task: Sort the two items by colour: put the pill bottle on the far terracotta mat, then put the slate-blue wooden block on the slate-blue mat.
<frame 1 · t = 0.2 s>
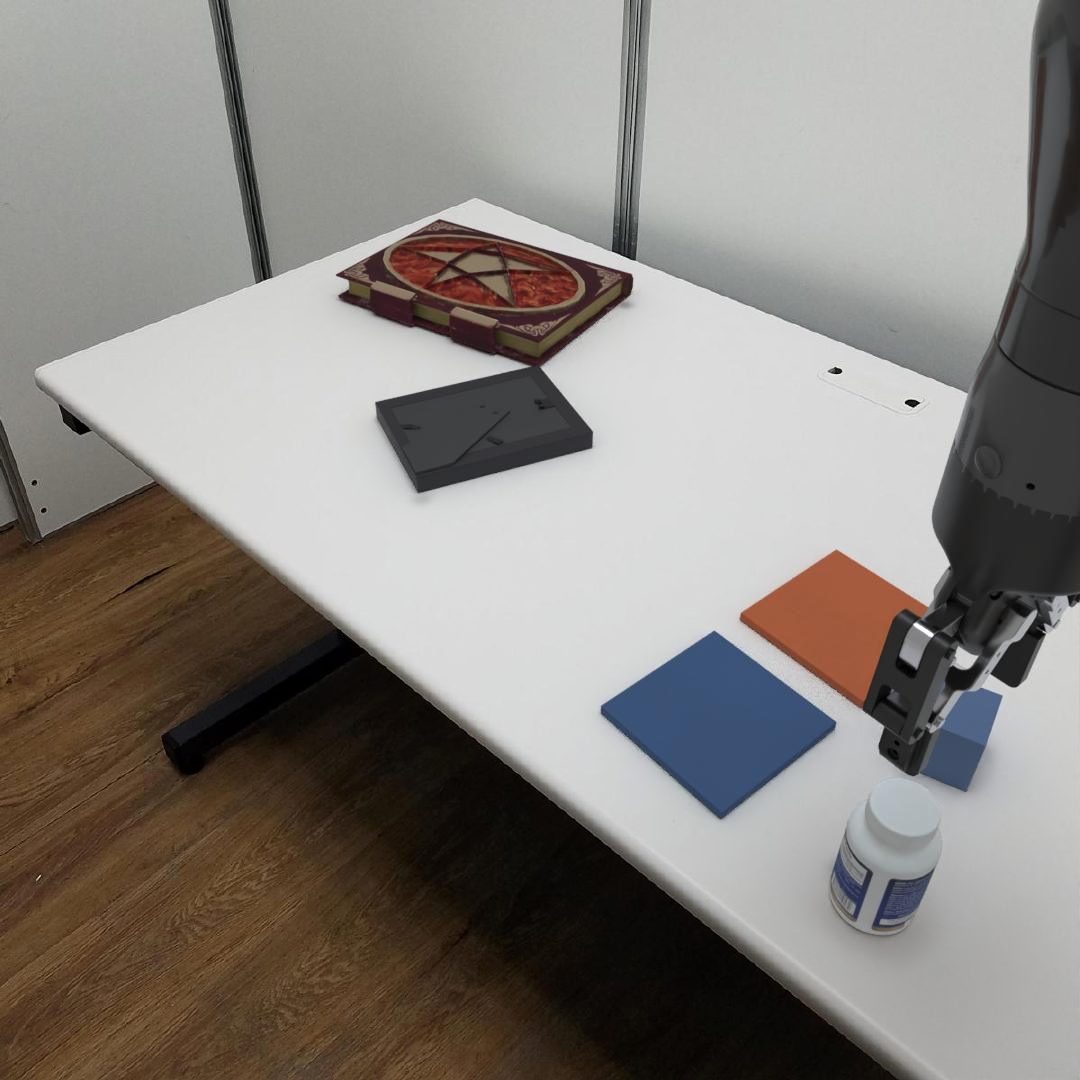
hand: (952, 716, 52), 20 cm above the table, tool pointing down, fingers open, 8 cm apart
pill bottle: (870, 899, 67), on the table
picture frame: (482, 434, 105), on the table
book: (484, 299, 126), on the table
blue mat: (716, 720, 77), on the table
blue block: (939, 751, 75), on the table
terracotta mat: (847, 626, 85), on the table
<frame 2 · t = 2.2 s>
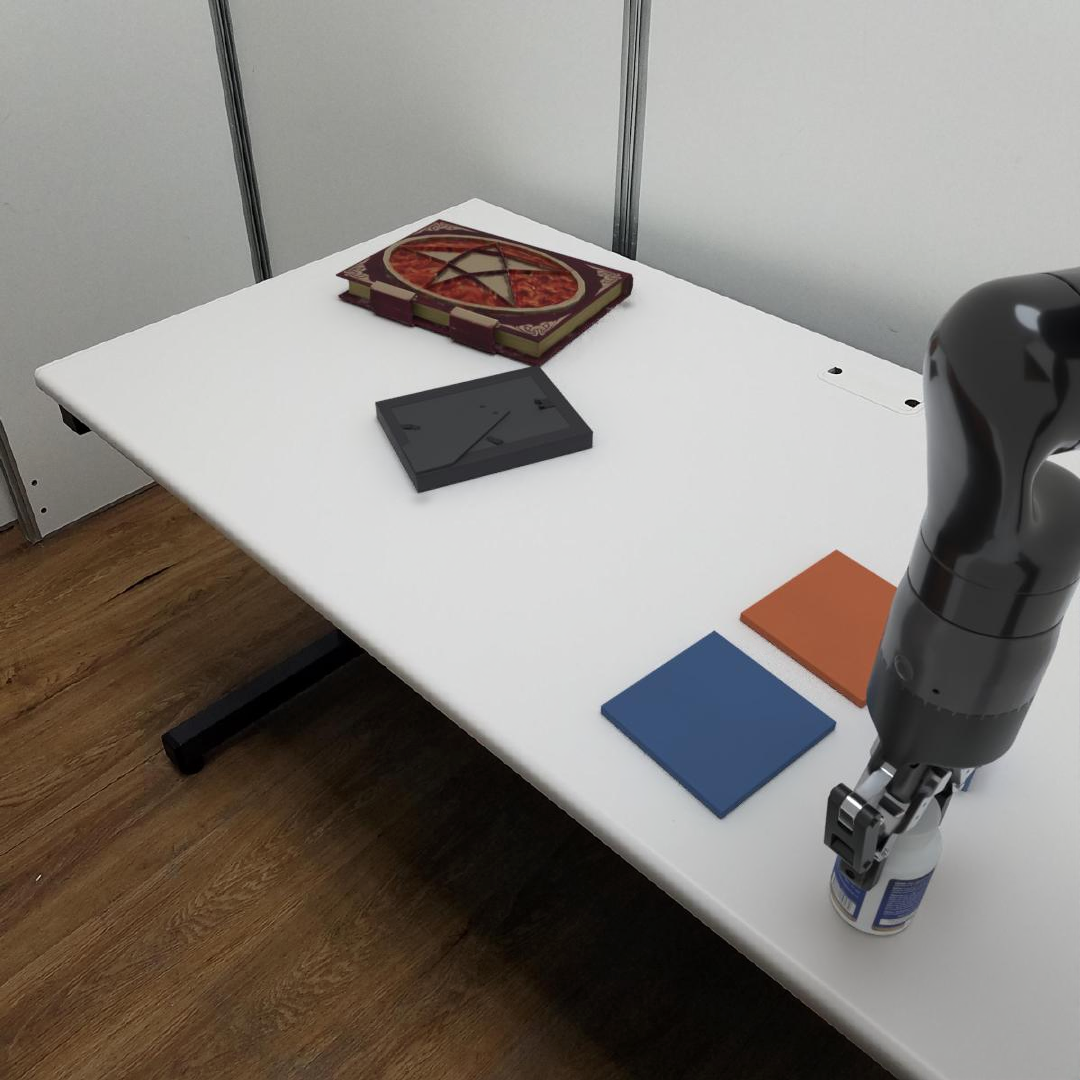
hand: (889, 847, 63), 5 cm above the table, tool pointing down, fingers closed on pill bottle, 5 cm apart
pill bottle: (870, 899, 67), on the table, touching gripper
everything else where it was.
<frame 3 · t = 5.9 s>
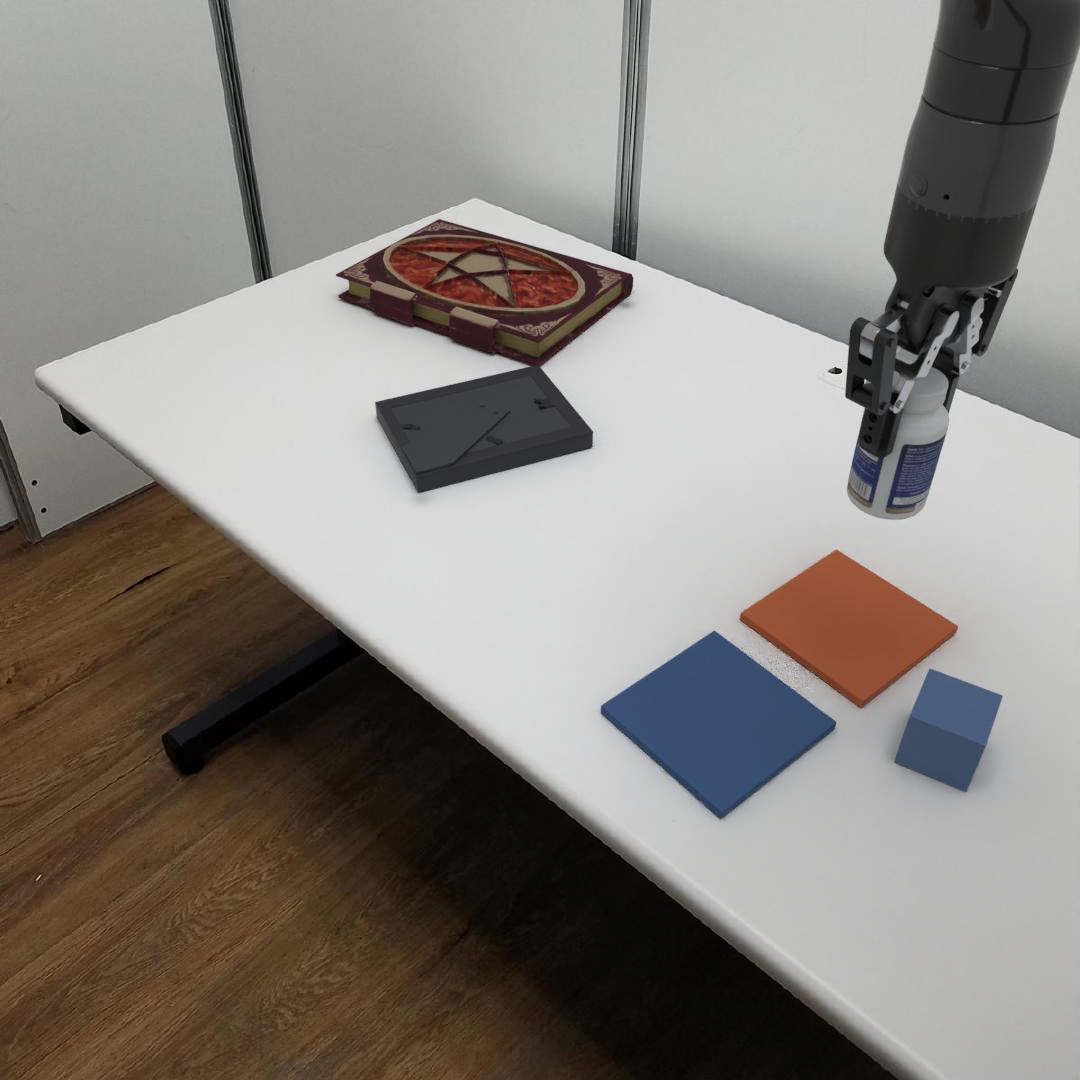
hand: (902, 433, 70), 20 cm above the table, tool pointing down, fingers closed on pill bottle, 5 cm apart
pill bottle: (884, 500, 74), point 14 cm above the table, touching gripper
everything else where it was.
when the fingers open (6 cm above the table, at t = 9.4 s): pill bottle stays where it is, resting on terracotta mat.
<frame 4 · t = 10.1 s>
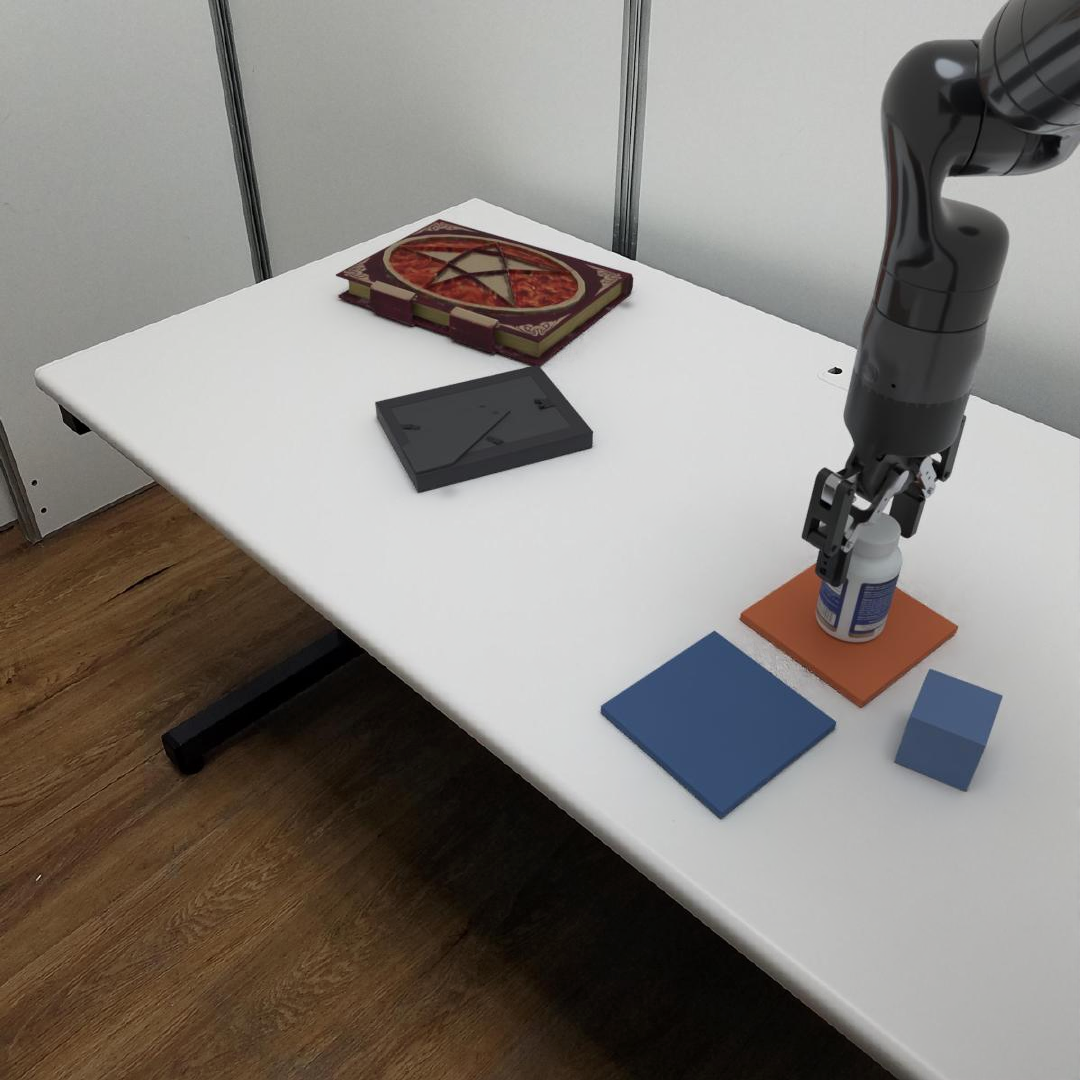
hand: (865, 555, 80), 8 cm above the table, tool pointing down, fingers open, 8 cm apart
pill bottle: (848, 622, 84), point 1 cm above the table, touching terracotta mat
everything else where it was.
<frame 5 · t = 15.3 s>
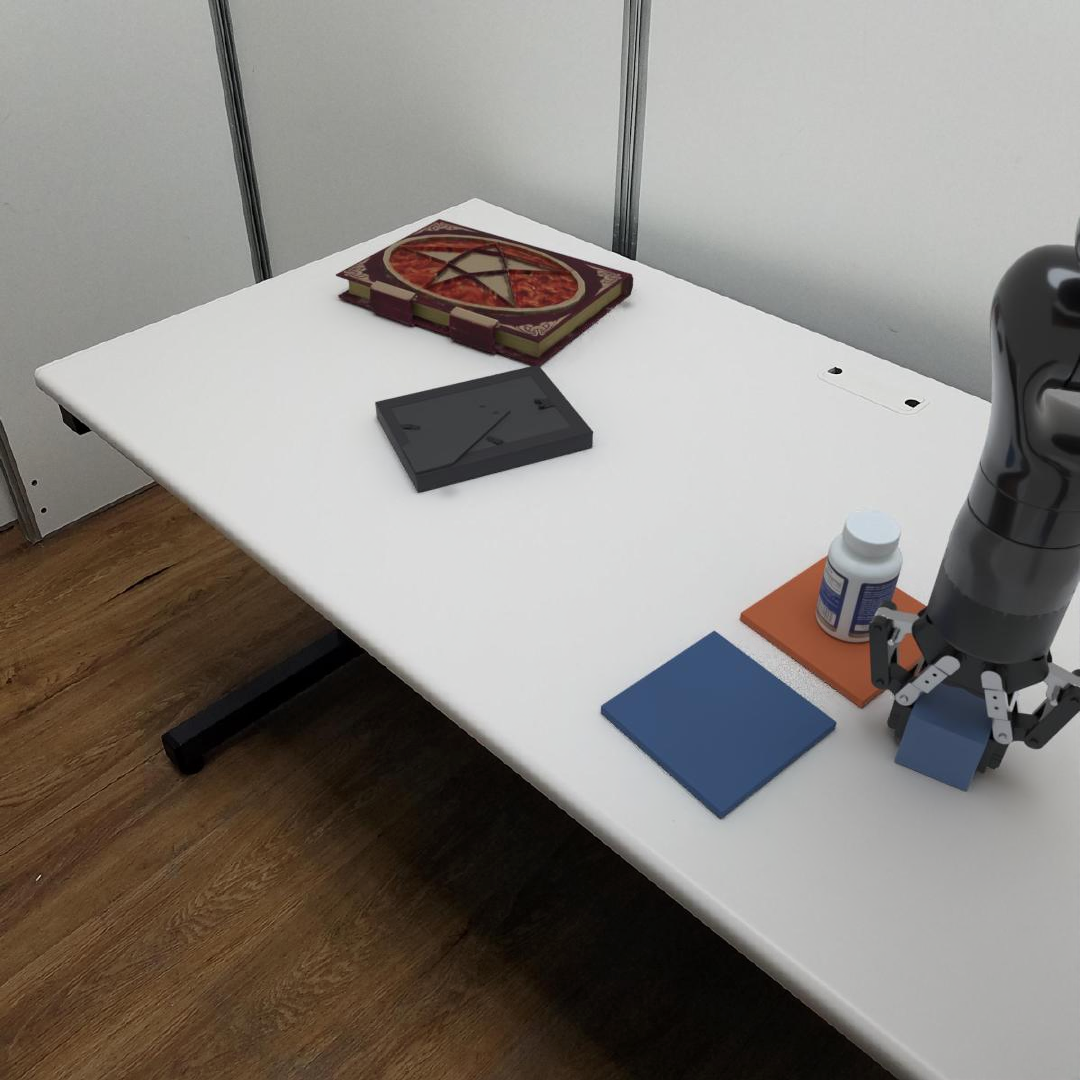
hand: (941, 746, 75), 1 cm above the table, tool pointing down, fingers closed on blue block, 5 cm apart
blue block: (939, 751, 75), on the table, touching gripper
everything else where it was.
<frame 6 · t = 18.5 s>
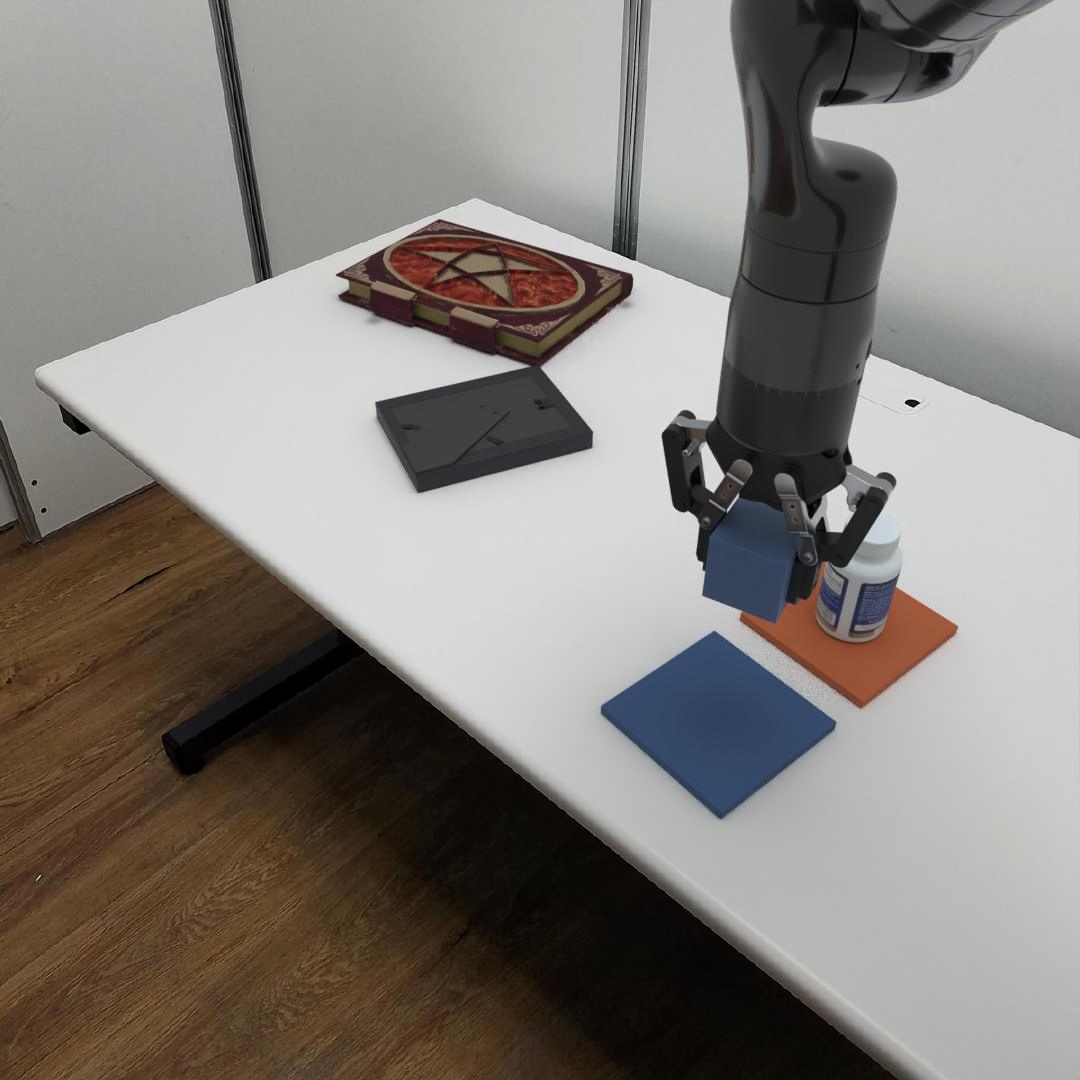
hand: (754, 579, 68), 14 cm above the table, tool pointing down, fingers closed on blue block, 5 cm apart
blue block: (753, 586, 69), point 13 cm above the table, touching gripper
everything else where it was.
when the fingers open (1 cm above the table, at t = 21.8 s): blue block stays where it is, resting on blue mat.
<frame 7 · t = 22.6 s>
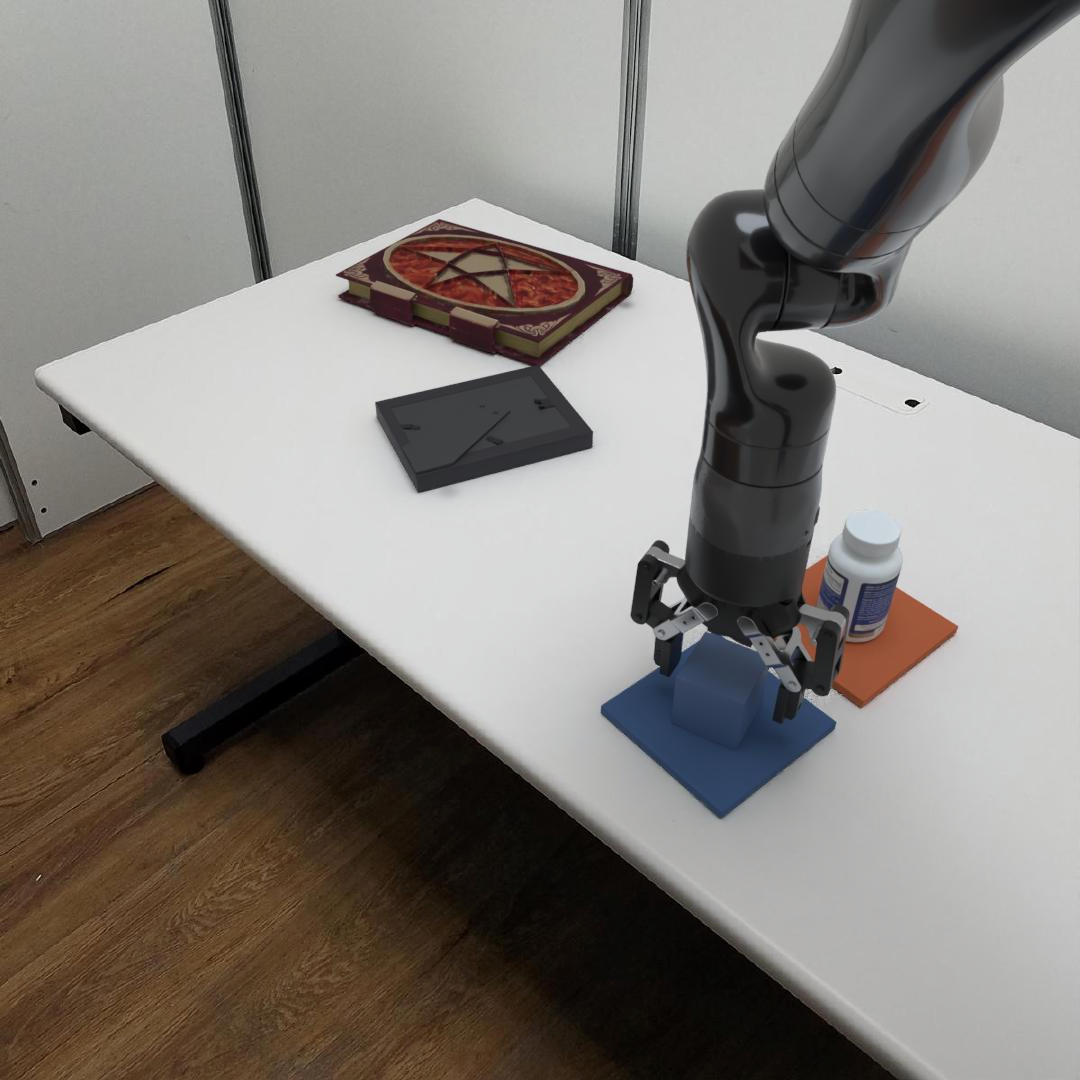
hand: (725, 691, 75), 3 cm above the table, tool pointing down, fingers open, 8 cm apart
blue block: (716, 713, 77), point 1 cm above the table, touching blue mat
everything else where it was.
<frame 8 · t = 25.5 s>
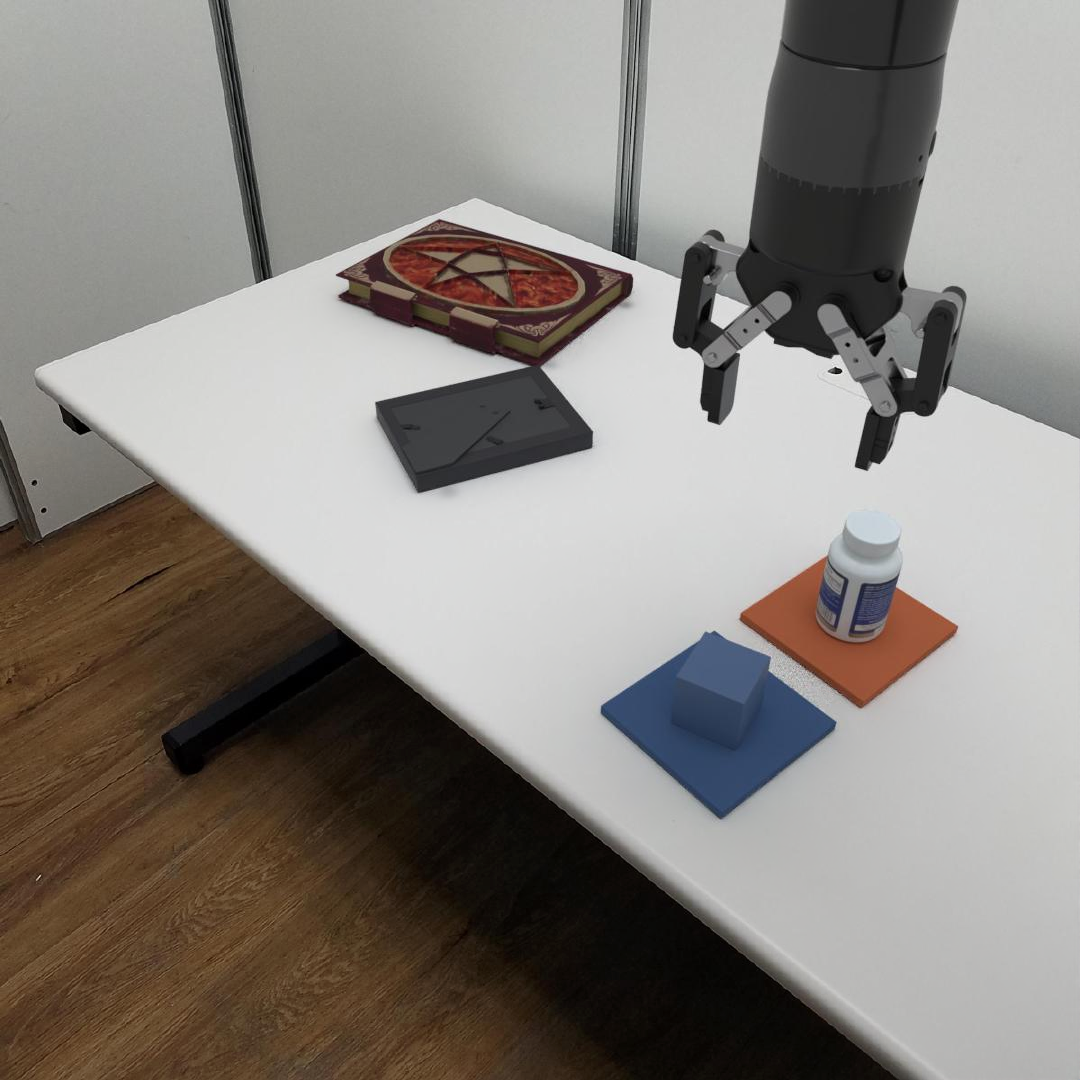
hand: (791, 439, 59), 26 cm above the table, tool pointing down, fingers open, 8 cm apart
nothing on the table moved.
at the end: pill bottle inside the target area on the terracotta mat (0.1 cm from its centre), point 0.6 cm above the terracotta mat's base; pill bottle tilted 0°; blue block inside the target area on the blue mat (0.1 cm from its centre), point 0.8 cm above the blue mat's base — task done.
